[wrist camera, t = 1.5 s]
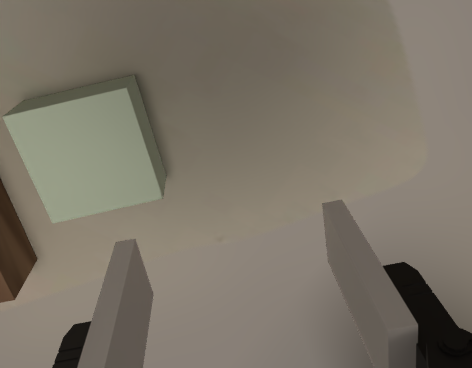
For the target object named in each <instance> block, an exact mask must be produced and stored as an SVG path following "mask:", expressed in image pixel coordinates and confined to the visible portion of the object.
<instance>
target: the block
mask: <svg viewBox="0 0 472 368" xmlns="http://www.w3.org/2000/svg"><path fill="white" fill-rule="evenodd" d="M3 119H4V121H5V124H6V126H7V128H8V130H9V132H10V134H11V136H12V138H13V141H14V143H15V145H16V147H17V149H18V151H19V153H20V155H21V158H22V160H23V162H24V164H25V166H26V168H27V170H28V172H29V175H30V177H31V179H32V181H33V183H34V185H35V187H36V189H37V192H38V194H39V196H40V198H41V200H42V202H43V204H44V207H45V209H46V211H47V213H48V215H49V217H50V219H51V221H52V224H53V223H57V222H62V221H66V220H71V219H75V218H79V217H84V216H88V215H93V214H97V213H102V212H106V211H110V210H115V209H119V208H124V207H128V206H133V205H137V204H141V203H146V202H150V201H155V200H159V199H163V195H164V189H165V182H166V173H165V170H164V167H163V164H162V161H161V157H160V154H159V151H158V148H157V145H156V142H155V138H154V135H153V132H152V129H151V126H150V123H149V119H148V116H147V113H146V110H145V107H144V104H143V101H142V97H141V94H140V91H139V88H138V85H137V82H136V78H135V75H131V76H127V77H123V78H118V79H114V80H110V81H105V82H101V83H97V84H93V85H88V86H84V87H80V88H76V89H71V90H67V91H63V92H58V93H54V94H50V95H46V96H41V97H37V98H33V99H29V100H24V101H22V102H21V103H20V104H18V105H17V106H16V107H15V108H13V109H12V110H11V111H9V112H8V113H7V114H5V115H4V116H3Z"/></svg>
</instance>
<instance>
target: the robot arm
mask: <svg viewBox="0 0 472 368" xmlns="http://www.w3.org/2000/svg"><path fill="white" fill-rule="evenodd" d="M322 207H323V216H324V226H325V236H326V247H327V256H328V262H329V265H330V267H331V269H332V272H333V274H334V276H335V279H336V281H337V283H338V285H339V287H340V290H341V292H342V294H343V297H344V299H345V301H346V304H347V306H348V308H349V311H350V313H351V315H352V318H353V320H354V322H355V325H356V327H357V329H358V331H359V334H360V336H361V338H362V341H363V343H364V345H365V347H366V350H367V352H368V354H369V357H370V359H371V361H372V364H373V366H374V368H472V333H470V332H468V331H466V330H463V329H460V328H459V327H458V326H457V325H456V324H455V322H454V321H453V319H452V318H451V317H450V315H449V314H448V312H447V311H446V310H445V308H444V307H443V305H442V304H441V303H440V301H439V300H438V298H437V297H436V296H435V294H434V293H432V290H431V289H430V287H429V286H428V284H426V282H425V280H424V279H423V278H422V276H421V275H420V273H419V272H418V271H417V270H416V269H414V268H413V267H411V266H410V265H408V264H407V263H405V262H401V263H396V264H390V265H386V266H382V265H381V263H380V261H379V260H378V258H377V256H376V255H375V253H374V252H373V250H372V248H371V247H370V245H369V243H368V242H367V240H366V239H365V237H364V235H363V233H362V232H361V230H360V229H359V227H358V225H357V224H356V222H355V220H354V219H353V217H352V216H351V214H350V212H349V211H348V209H347V207H346V206H345V204H344V202H343V201H342V200H337V201H332V202H327V203H322ZM152 301H153V291H152V288H151V285H150V282H149V279H148V276H147V273H146V270H145V267H144V264H143V261H142V258H141V255H140V251H139V248H138V245H137V242H136V239H130V240H125V241H120V242H116V243H115V246H114V250H113V253H112V256H111V259H110V263H109V266H108V269H107V272H106V276H105V279H104V282H103V285H102V289H101V292H100V295H99V298H98V302H97V305H96V308H95V312H94V315H93V318H92V321H90V322H85V323H79V324H75V325H73V326H72V328H71V329H70V330H69V331H68V333H67V334H66V335H65V336H64V337H63V340H62V343H61V346H60V348H59V353H58V354H57V357H56V359H55V364H54V365H53V367H52V368H143V363H144V356H145V349H146V342H147V335H148V329H149V321H150V314H151V307H152Z"/></svg>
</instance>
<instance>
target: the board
mask: <svg viewBox="0 0 472 368" xmlns="http://www.w3.org/2000/svg"><path fill="white" fill-rule="evenodd" d="M36 261H37V257H36V255H35V253H34V251H33V249H32V247H31V244H30V242H29V240H28V238H27V236H26V234H25V231H24V229H23V227H22V225H21V223H20V220H19V218H18V216H17V214H16V212H15V210H14V207H13V205H12V203H11V201H10V199H9V196H8V194H7V192H6V190H5V188H4V186H3V183H2V181H1V179H0V303H1V302H6V301H11V300H15V298H16V297H17V295H18V293H19V291H20V289H21V288H22V286H23V284H24V282H25V281H26V279H27V277H28V275H29V273H30V272H31V270H32V268H33V266H34V264H35V263H36Z"/></svg>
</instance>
